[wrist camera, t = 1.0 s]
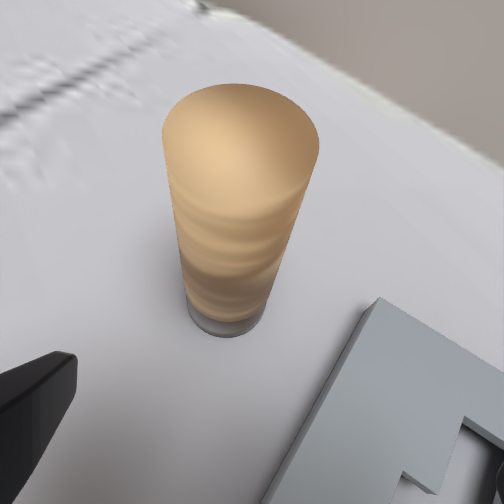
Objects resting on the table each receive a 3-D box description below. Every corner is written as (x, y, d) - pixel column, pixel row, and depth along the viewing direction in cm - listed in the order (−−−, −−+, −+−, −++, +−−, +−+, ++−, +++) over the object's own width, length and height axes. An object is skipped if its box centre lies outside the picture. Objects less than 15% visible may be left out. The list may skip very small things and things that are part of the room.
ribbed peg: (210, 352, 22) (208, 223, 10) (174, 285, 24) (136, 108, 12) (279, 314, 24) (350, 162, 12) (240, 253, 26) (266, 69, 14)
